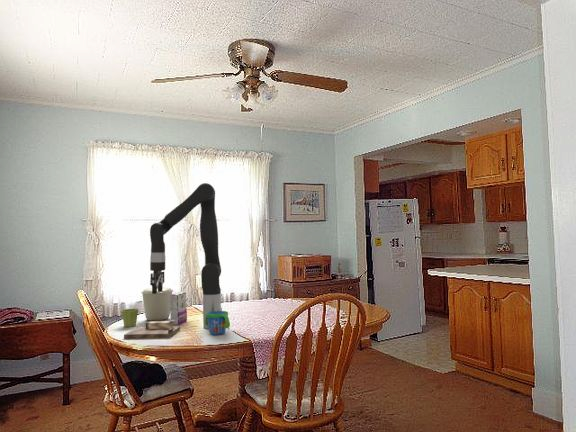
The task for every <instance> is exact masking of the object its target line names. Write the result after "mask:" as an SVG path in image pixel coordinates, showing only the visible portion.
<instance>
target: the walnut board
mask: <svg viewBox="0 0 576 432" xmlns="http://www.w3.org/2000/svg"><path fill="white" fill-rule="evenodd" d="M180 331H181V327H180V326H173V328H169V329H146V326H145V327H144V326H143V327H136V328H134V329H132V330H130V331H128V332H126V333H124V334H123V340H134V339H138V340H140V339H170V338H172V337H174V336H175V335H176V334H177V333H179V332H180Z"/></svg>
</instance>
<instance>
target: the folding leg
mask: <svg viewBox="0 0 576 432" xmlns="http://www.w3.org/2000/svg"><path fill="white" fill-rule="evenodd" d="M173 322H175V320H171V319H170V320H169V321H168V320H166V321H164V320H160V321H146V322H145V327H146V329H169V328H173V327H174V325H173Z"/></svg>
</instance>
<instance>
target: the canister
mask: <svg viewBox="0 0 576 432" xmlns="http://www.w3.org/2000/svg"><path fill="white" fill-rule="evenodd" d="M173 292H174V289H172V288H170V287H164V286H163V291H162V292H158V283H157V293H156V294H153V293H152V287H150V288H146V289H143V291H141V294H142V302H143V308H144V309H143V310H144V316H145V319H146V320H147V321H149V322H158V321H164V320H167V319H169V317H171V315H170V295H171V294H173Z"/></svg>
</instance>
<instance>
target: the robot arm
mask: <svg viewBox="0 0 576 432" xmlns="http://www.w3.org/2000/svg"><path fill="white" fill-rule="evenodd" d="M198 205H200V218H199V219H200V220H199V234H200V236H199V237H200V241H201V245H202V249H203V252H204V266H203V267H202V269H201V272H200V275H201V277H200V278H201V279H200V280H201V281H200V282H201V290H202V317H203V319H202V321H203V322H202V323H203V329H208V330H209V327H208V325H206V324H205V320H206V313H208V312H213V311H223V307H222V299H221V297H222V295H221V293H222V292H221V291H222V289H221V286H220V277H221V276H222V267H221V262H220V257H219V256H220V255H219V230H218V221H217V215H216V210H215V207H216V206H215V205H216V190H215V188H214V187H213V185H211V184H210V183H207V182H204V183H201V184H199V185H198V186H197V188H196V189H195V190H193V192H192V193H191V194H190V195H189V196H188V197H187V198H185V200H184V201H182V202H181V203H180V204H178V205H177V206H176V207H174V208H173V209H172V210H171V211H169V212H168V213H167V214H166V215H165V216H164V218H163V219H161V220H160V221H159V222H155V223H152V225H151V226H150V228H149V237H150V243H151V244H150V261H149V262H150V264H149V265H150V266H149V267H150V268H149V270H150V271H151V273H150V283H149V285H150V286H151V288H152V293H153V294H156V293H157V283H158V292H162V291H163V287H164V286H163V285H164V283H165V270H166V243H165V241H164V240H165V239H164V235H166V234H167V233H168V232H169V231H170V230H171V229H172V228H173V227H175V226H176V225H177V224H178V223H180V222H181V221H182V220H183V219H185V218H186V217H187V216H188V214H190V212H191V211H193V210H194V209H195V208H196V207H197V206H198ZM152 271H153V272H152Z"/></svg>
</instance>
